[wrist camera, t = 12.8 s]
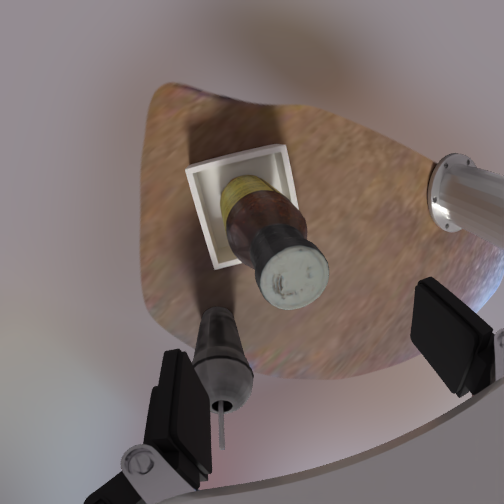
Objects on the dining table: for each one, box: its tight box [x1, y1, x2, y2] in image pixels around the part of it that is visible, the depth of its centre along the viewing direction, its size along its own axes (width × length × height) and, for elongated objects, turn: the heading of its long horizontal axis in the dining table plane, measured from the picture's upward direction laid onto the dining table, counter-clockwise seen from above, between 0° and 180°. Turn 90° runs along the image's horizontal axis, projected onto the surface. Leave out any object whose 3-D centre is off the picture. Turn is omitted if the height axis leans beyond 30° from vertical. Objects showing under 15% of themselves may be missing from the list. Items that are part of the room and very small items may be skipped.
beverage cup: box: [192, 307, 254, 450], centre depth 31 cm, size 7×7×20 cm
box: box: [185, 144, 299, 270], centre depth 32 cm, size 10×11×5 cm
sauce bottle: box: [220, 175, 329, 310], centre depth 25 cm, size 6×6×20 cm
